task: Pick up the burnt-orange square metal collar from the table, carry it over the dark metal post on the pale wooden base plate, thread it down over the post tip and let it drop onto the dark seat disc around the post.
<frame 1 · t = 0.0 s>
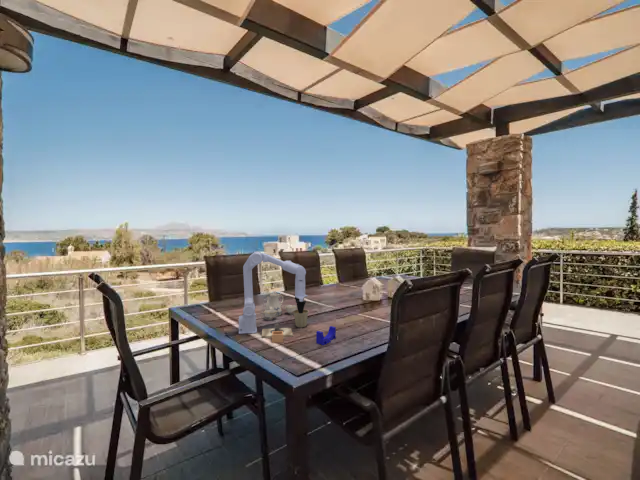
hand: (300, 311, 185), 10 cm above the table, tool pointing down, fingers open, 7 cm apart
cable clip: (327, 341, 167), on the table
post plate: (277, 333, 178), on the table
chinaware: (277, 316, 213), on the table
flower pot: (300, 326, 192), on the table
collar: (277, 340, 167), on the table
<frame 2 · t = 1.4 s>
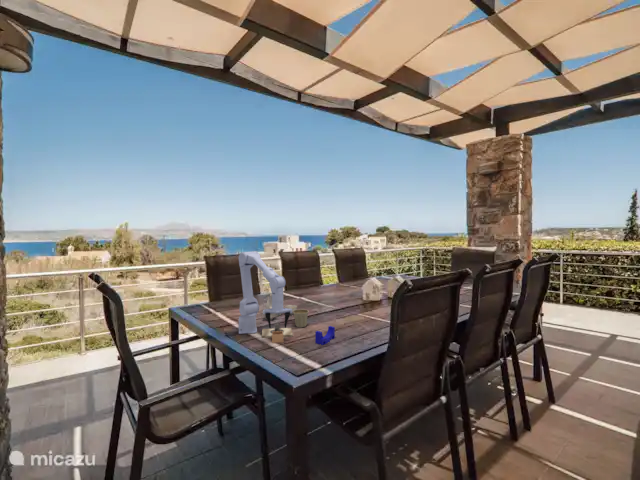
hand: (277, 327, 166), 7 cm above the table, tool pointing down, fingers open, 7 cm apart
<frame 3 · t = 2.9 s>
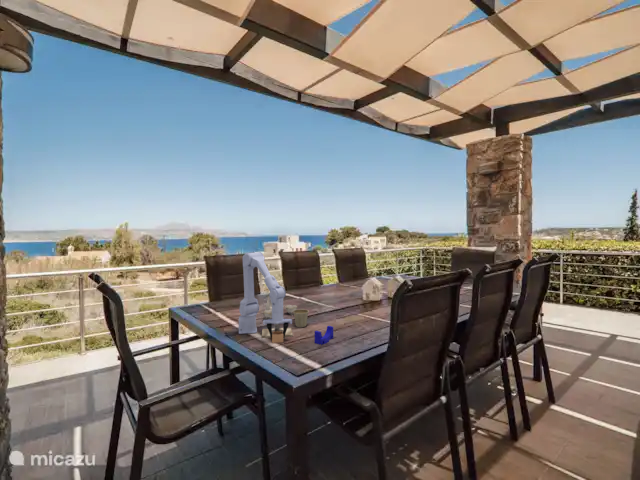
hand: (277, 337, 167), 1 cm above the table, tool pointing down, fingers closed on collar, 6 cm apart
collar: (277, 340, 167), on the table, touching gripper
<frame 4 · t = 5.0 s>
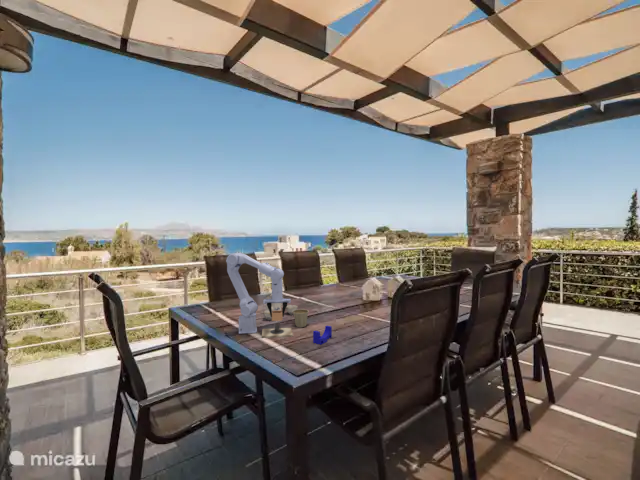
hand: (277, 316, 177), 9 cm above the table, tool pointing down, fingers closed on collar, 6 cm apart
collar: (277, 319, 177), point 8 cm above the table, touching gripper
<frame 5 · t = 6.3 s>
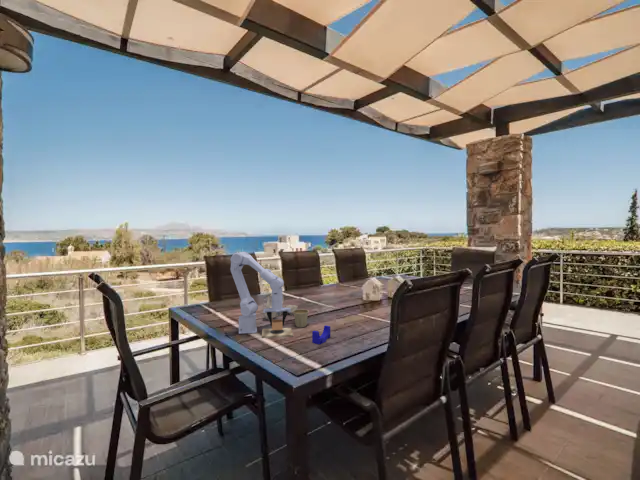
hand: (277, 325, 177), 4 cm above the table, tool pointing down, fingers closed on collar, 6 cm apart
collar: (277, 328, 177), point 3 cm above the table, touching gripper
when the fingers open (4 cm above the table, at t = 7.1 s): collar drops 2 cm, resting on post plate.
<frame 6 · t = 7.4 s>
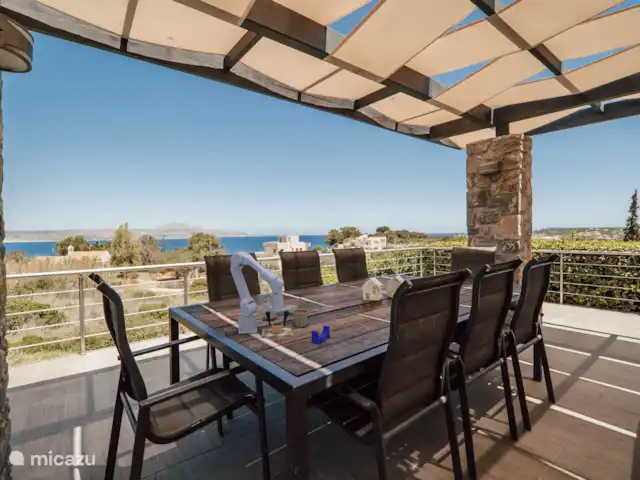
hand: (277, 325, 177), 4 cm above the table, tool pointing down, fingers open, 7 cm apart
collar: (277, 331, 177), point 1 cm above the table, touching post plate
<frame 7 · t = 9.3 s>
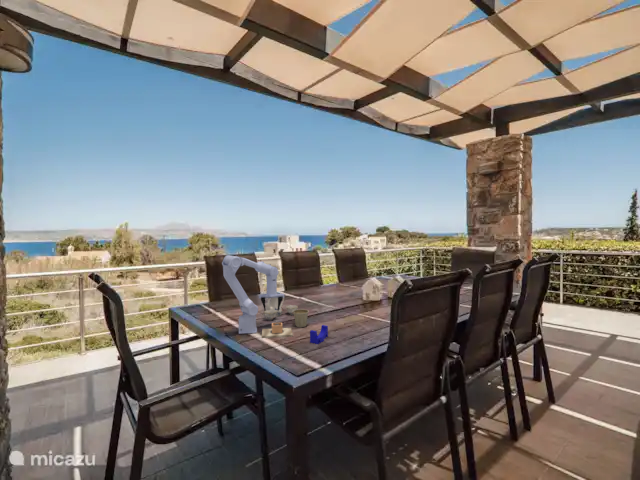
hand: (271, 310, 190), 9 cm above the table, tool pointing down, fingers open, 7 cm apart
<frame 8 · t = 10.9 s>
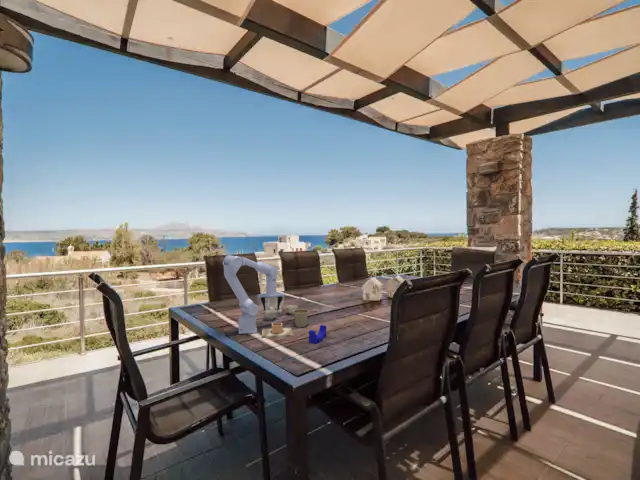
hand: (271, 310, 191), 9 cm above the table, tool pointing down, fingers open, 7 cm apart
at the end: collar 0.1 cm from the post plate (horizontally); collar point 1.2 cm above the table; the gripper is holding nothing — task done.
